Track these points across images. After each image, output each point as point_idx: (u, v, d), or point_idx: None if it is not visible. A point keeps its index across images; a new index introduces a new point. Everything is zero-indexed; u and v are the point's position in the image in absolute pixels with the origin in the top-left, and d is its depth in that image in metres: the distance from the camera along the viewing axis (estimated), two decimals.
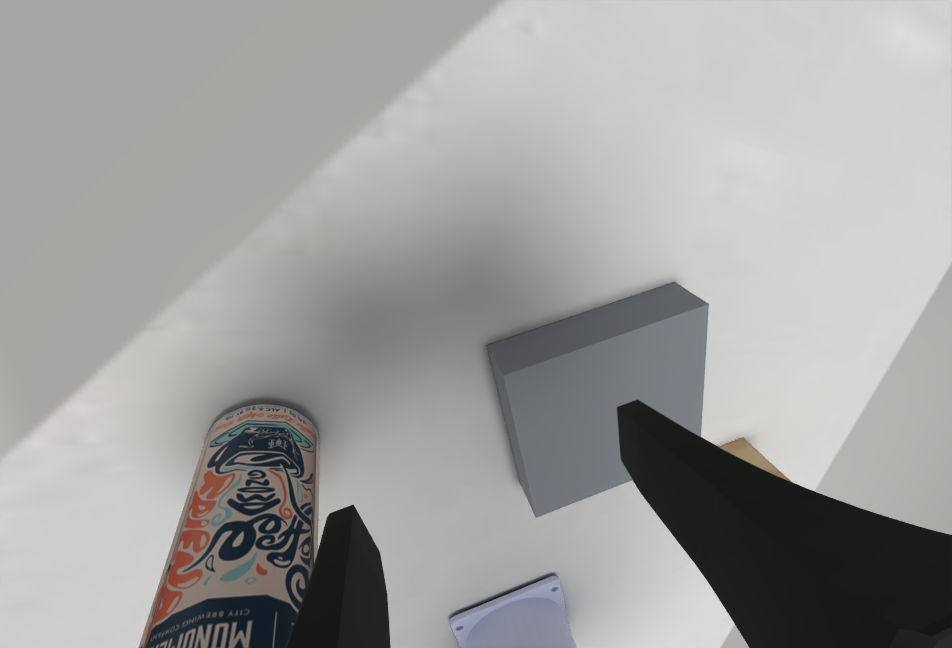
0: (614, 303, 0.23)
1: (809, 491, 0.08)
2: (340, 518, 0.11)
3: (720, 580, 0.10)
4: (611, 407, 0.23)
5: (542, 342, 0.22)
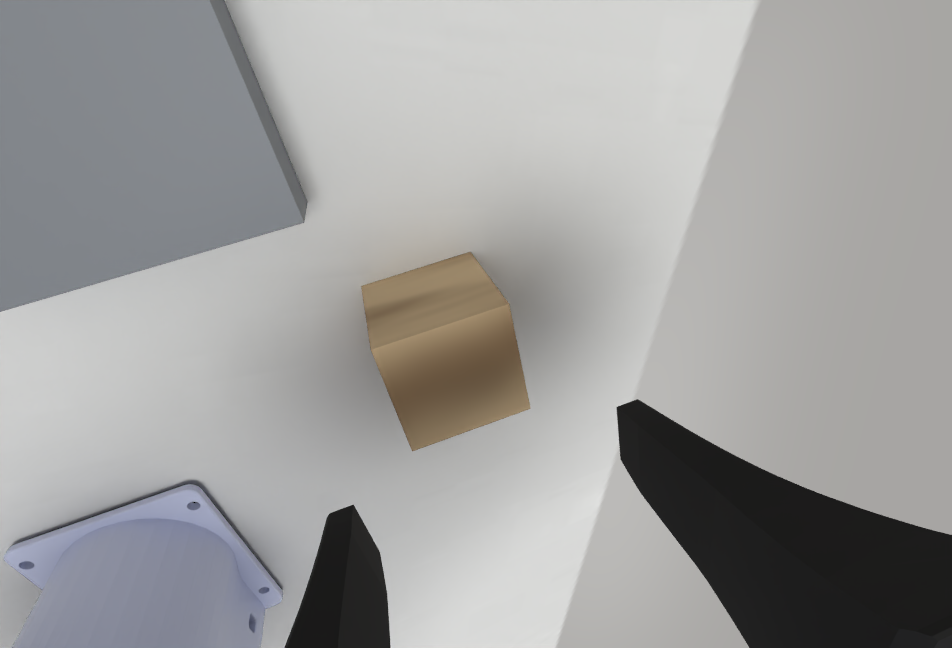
0: None
1: (809, 491, 0.08)
2: (340, 518, 0.11)
3: (720, 580, 0.10)
4: None
5: None
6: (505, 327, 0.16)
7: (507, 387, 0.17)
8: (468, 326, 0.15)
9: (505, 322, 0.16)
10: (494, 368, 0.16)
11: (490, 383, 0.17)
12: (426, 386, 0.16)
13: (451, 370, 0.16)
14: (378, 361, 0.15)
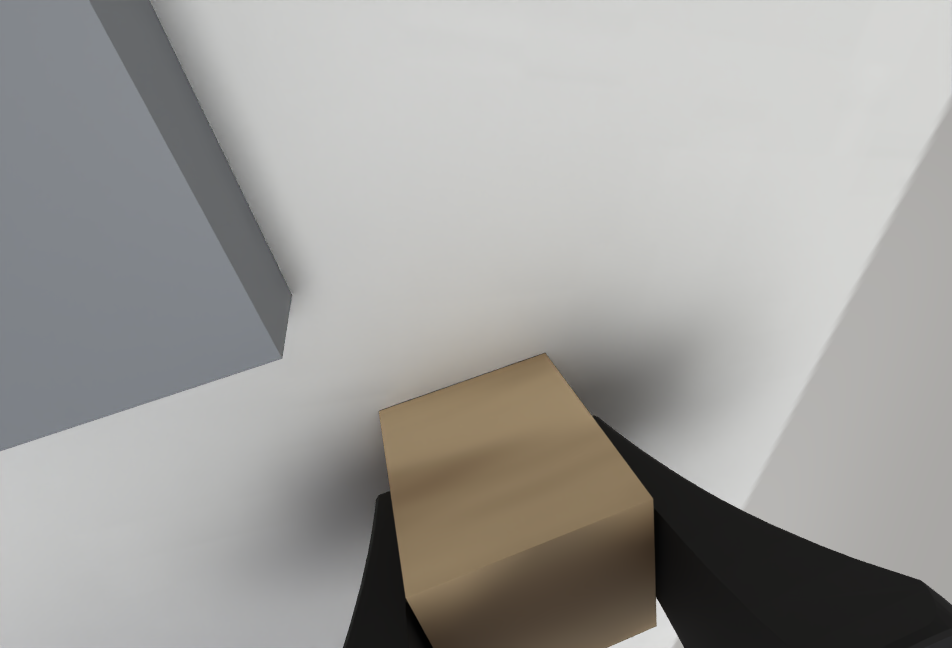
0: None
1: (749, 516, 0.08)
2: (391, 499, 0.11)
3: (669, 602, 0.10)
4: None
5: None
6: (640, 531, 0.09)
7: (627, 607, 0.10)
8: (579, 540, 0.08)
9: (641, 524, 0.09)
10: (611, 587, 0.10)
11: (601, 607, 0.10)
12: (497, 629, 0.09)
13: (542, 602, 0.09)
14: (418, 611, 0.08)
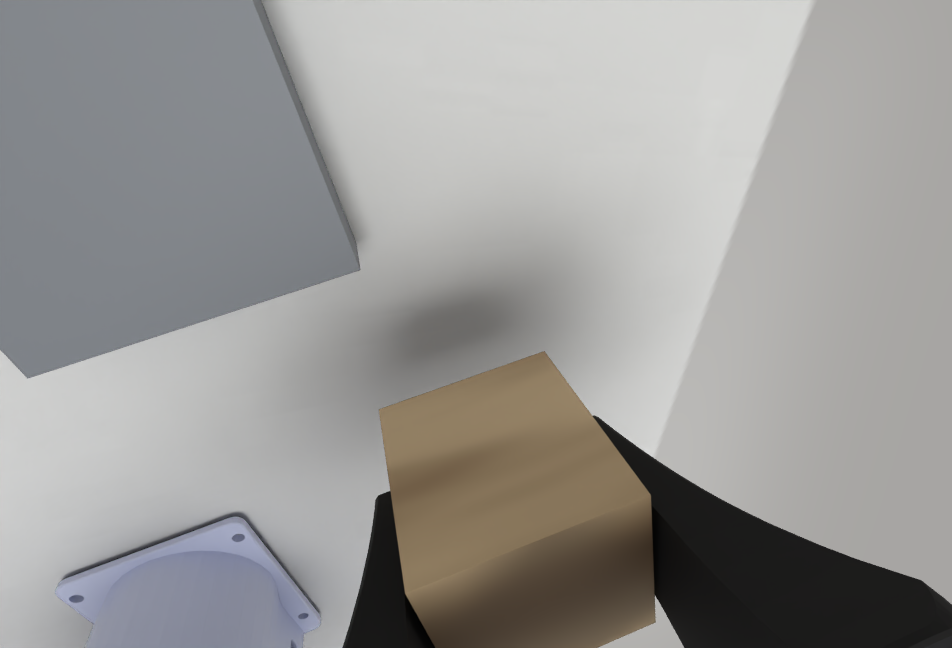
0: None
1: (749, 516, 0.08)
2: (390, 500, 0.11)
3: (669, 602, 0.10)
4: (63, 118, 0.11)
5: None
6: (638, 528, 0.09)
7: (626, 604, 0.10)
8: (577, 536, 0.09)
9: (639, 521, 0.09)
10: (611, 584, 0.10)
11: (600, 603, 0.10)
12: (497, 624, 0.09)
13: (541, 598, 0.09)
14: (418, 607, 0.08)
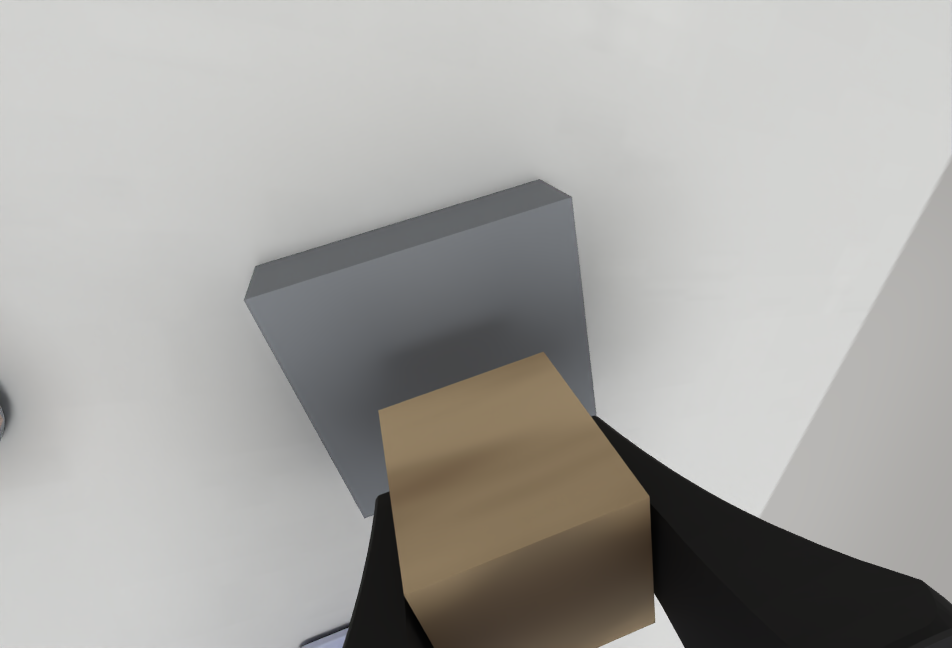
0: (449, 208, 0.16)
1: (749, 516, 0.08)
2: (390, 499, 0.11)
3: (669, 602, 0.10)
4: (445, 357, 0.16)
5: (327, 257, 0.15)
6: (637, 529, 0.09)
7: (626, 604, 0.10)
8: (576, 537, 0.09)
9: (638, 522, 0.09)
10: (609, 585, 0.10)
11: (599, 603, 0.10)
12: (496, 625, 0.09)
13: (540, 599, 0.09)
14: (417, 608, 0.08)
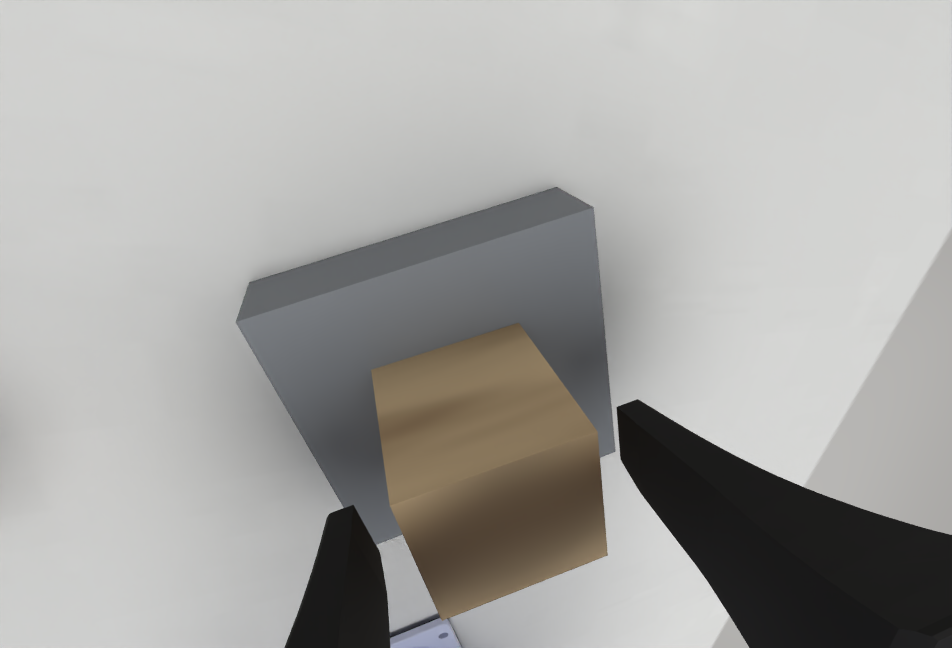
0: (459, 218, 0.15)
1: (809, 491, 0.08)
2: (340, 519, 0.11)
3: (720, 580, 0.10)
4: None
5: (326, 273, 0.13)
6: (588, 461, 0.11)
7: (581, 534, 0.12)
8: (535, 464, 0.10)
9: (588, 455, 0.11)
10: (566, 513, 0.11)
11: (558, 531, 0.12)
12: (467, 543, 0.11)
13: (505, 521, 0.11)
14: (400, 519, 0.10)
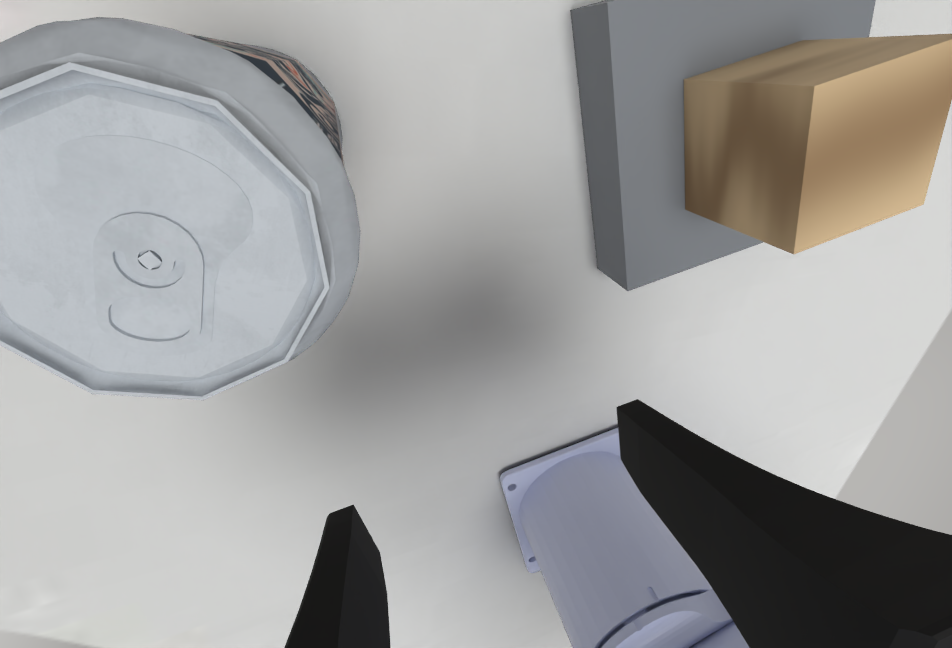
0: None
1: (809, 491, 0.08)
2: (340, 519, 0.11)
3: (720, 580, 0.10)
4: None
5: None
6: (951, 71, 0.12)
7: (915, 168, 0.14)
8: (917, 64, 0.12)
9: None
10: (915, 136, 0.13)
11: (903, 159, 0.13)
12: (843, 154, 0.13)
13: (876, 133, 0.13)
14: (815, 106, 0.12)
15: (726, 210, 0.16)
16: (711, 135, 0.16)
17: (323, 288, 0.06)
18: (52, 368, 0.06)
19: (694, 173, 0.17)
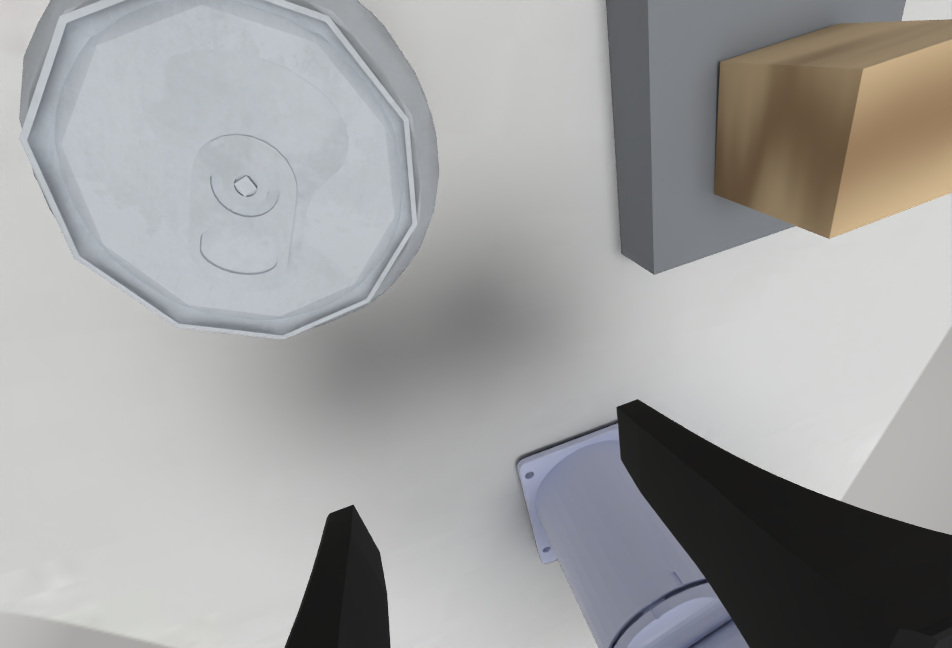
0: None
1: (809, 491, 0.08)
2: (340, 518, 0.11)
3: (720, 580, 0.10)
4: None
5: None
6: None
7: None
8: None
9: None
10: None
11: (941, 144, 0.14)
12: (885, 138, 0.13)
13: (918, 117, 0.13)
14: (862, 89, 0.12)
15: (758, 194, 0.16)
16: (746, 118, 0.15)
17: (411, 224, 0.06)
18: (140, 298, 0.06)
19: (726, 157, 0.17)
